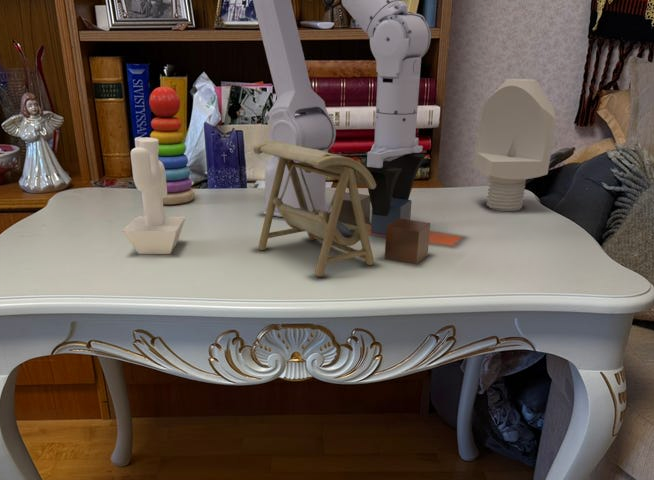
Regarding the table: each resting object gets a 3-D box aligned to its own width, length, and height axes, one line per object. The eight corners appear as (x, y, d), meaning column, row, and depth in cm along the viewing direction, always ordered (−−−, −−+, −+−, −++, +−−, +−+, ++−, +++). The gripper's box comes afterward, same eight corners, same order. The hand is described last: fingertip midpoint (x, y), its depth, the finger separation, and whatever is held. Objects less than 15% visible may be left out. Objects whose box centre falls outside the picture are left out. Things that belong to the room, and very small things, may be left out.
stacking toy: (190, 206, 114) (181, 89, 106) (144, 206, 114) (131, 89, 106) (198, 195, 121) (189, 84, 113) (154, 195, 122) (142, 84, 113)
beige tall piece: (469, 200, 117) (483, 77, 108) (521, 199, 117) (539, 77, 108) (485, 214, 109) (501, 82, 100) (541, 213, 109) (562, 82, 100)
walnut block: (384, 259, 89) (386, 226, 87) (396, 250, 92) (398, 218, 90) (416, 264, 87) (418, 231, 85) (427, 255, 90) (430, 222, 88)
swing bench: (376, 265, 87) (382, 148, 80) (316, 280, 82) (317, 157, 75) (312, 238, 98) (312, 133, 91) (256, 249, 93) (251, 139, 86)
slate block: (370, 233, 99) (371, 203, 97) (382, 225, 103) (383, 196, 101) (398, 237, 97) (400, 206, 95) (409, 229, 101) (411, 200, 99)
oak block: (331, 227, 102) (331, 198, 100) (343, 220, 106) (344, 192, 104) (357, 231, 100) (358, 201, 98) (369, 224, 104) (371, 195, 102)
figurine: (189, 239, 97) (180, 132, 90) (177, 260, 89) (166, 143, 82) (140, 239, 97) (127, 132, 91) (123, 259, 89) (108, 143, 82)
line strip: (320, 226, 103) (320, 226, 103) (334, 219, 107) (334, 218, 107) (452, 246, 94) (452, 245, 94) (462, 237, 98) (462, 236, 98)
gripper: (404, 120, 85) (397, 224, 91) (440, 107, 96) (432, 201, 102) (354, 116, 88) (351, 217, 94) (395, 105, 99) (389, 196, 106)
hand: (390, 208), depth 99 cm, fingers open, 7 cm apart
